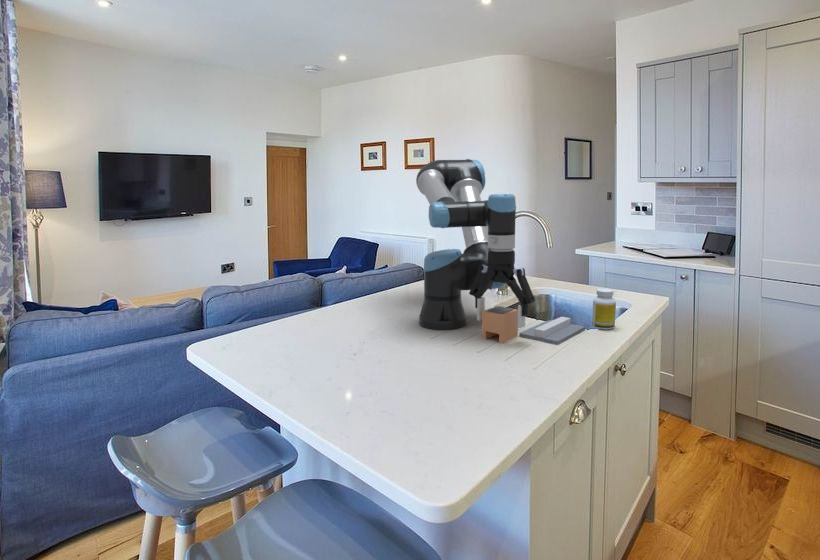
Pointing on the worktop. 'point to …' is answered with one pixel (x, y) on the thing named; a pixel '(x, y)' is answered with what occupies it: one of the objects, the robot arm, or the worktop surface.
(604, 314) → the pill bottle
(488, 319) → the block
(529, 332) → the rail board
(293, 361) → the worktop surface
